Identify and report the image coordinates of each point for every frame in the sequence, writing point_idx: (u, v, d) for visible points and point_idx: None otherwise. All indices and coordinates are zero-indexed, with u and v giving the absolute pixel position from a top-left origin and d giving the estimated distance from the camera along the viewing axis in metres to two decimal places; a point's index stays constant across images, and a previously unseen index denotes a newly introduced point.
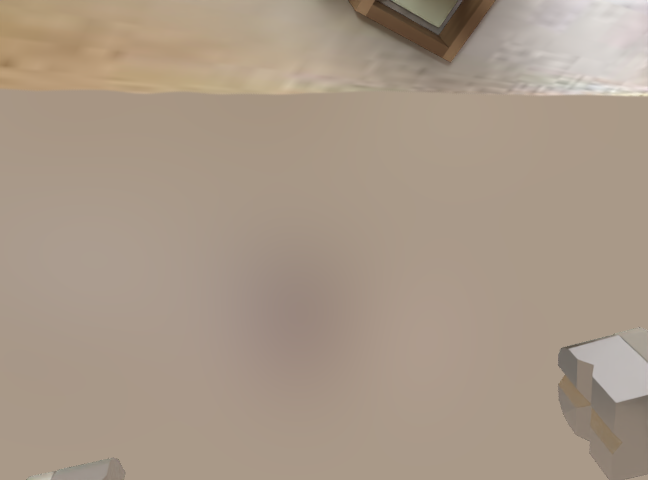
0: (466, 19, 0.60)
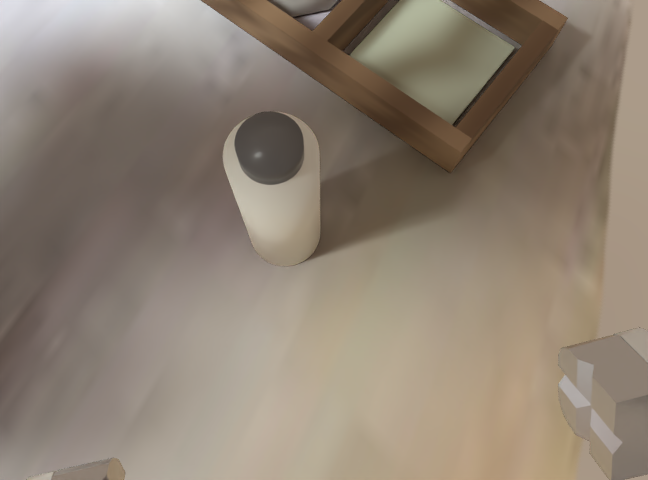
0: None
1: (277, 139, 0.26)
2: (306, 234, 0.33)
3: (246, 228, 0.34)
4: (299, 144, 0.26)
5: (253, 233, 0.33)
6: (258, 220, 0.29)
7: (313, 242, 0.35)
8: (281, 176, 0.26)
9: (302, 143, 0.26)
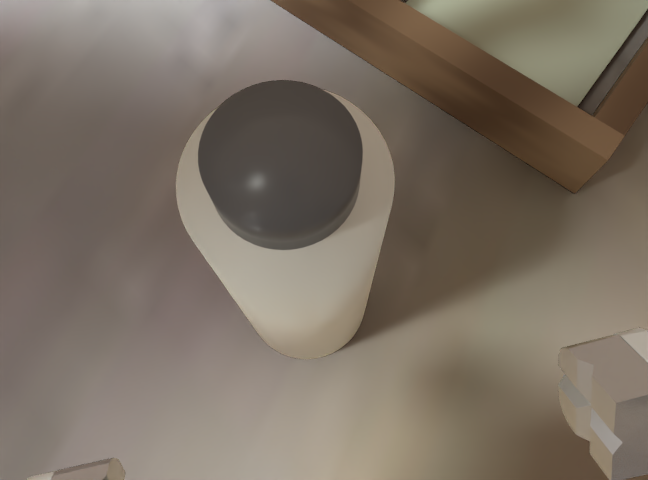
0: None
1: (300, 145, 0.11)
2: (350, 319, 0.18)
3: None
4: (353, 155, 0.11)
5: (252, 320, 0.17)
6: (259, 311, 0.14)
7: (358, 323, 0.20)
8: (311, 232, 0.11)
9: (360, 153, 0.11)
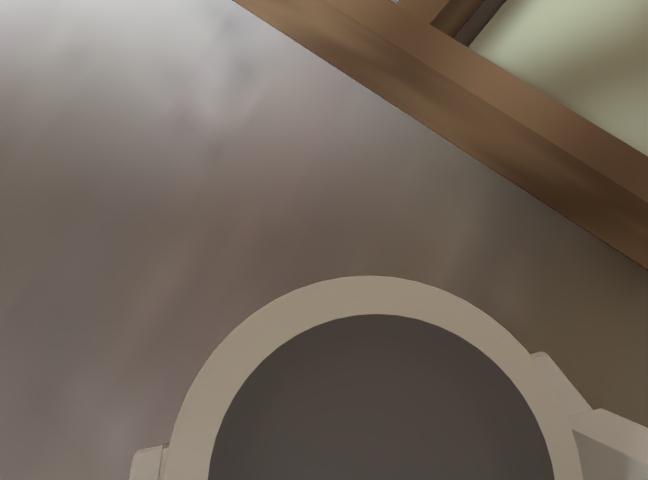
0: None
1: (422, 470, 0.05)
2: None
3: None
4: None
5: None
6: None
7: None
8: None
9: None
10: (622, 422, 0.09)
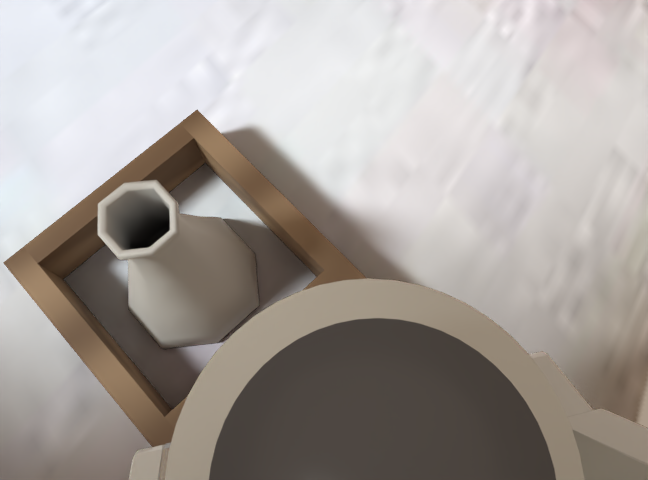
0: None
1: (423, 475, 0.05)
2: None
3: None
4: None
5: None
6: None
7: None
8: None
9: None
10: (622, 422, 0.09)
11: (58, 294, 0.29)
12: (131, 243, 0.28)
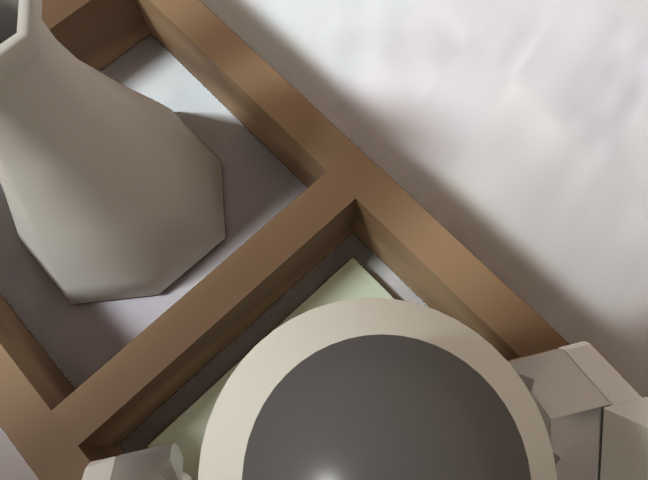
0: None
1: (420, 465, 0.06)
2: None
3: None
4: None
5: None
6: None
7: None
8: None
9: None
10: None
11: None
12: None
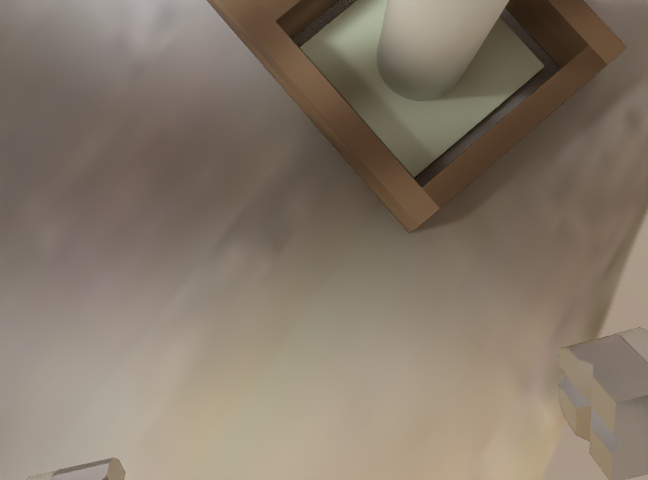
0: None
1: None
2: (472, 54, 0.25)
3: (386, 45, 0.26)
4: None
5: (403, 50, 0.25)
6: (431, 25, 0.22)
7: (465, 69, 0.28)
8: None
9: None
10: None
11: None
12: None
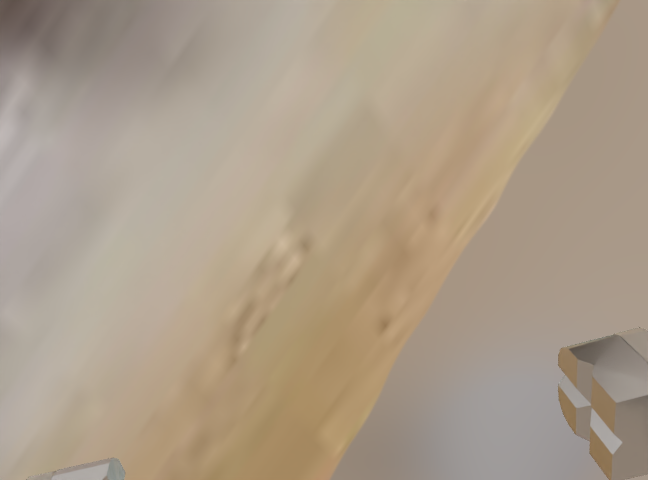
0: None
1: None
2: None
3: None
4: None
5: None
6: None
7: None
8: None
9: None
10: None
11: None
12: None
